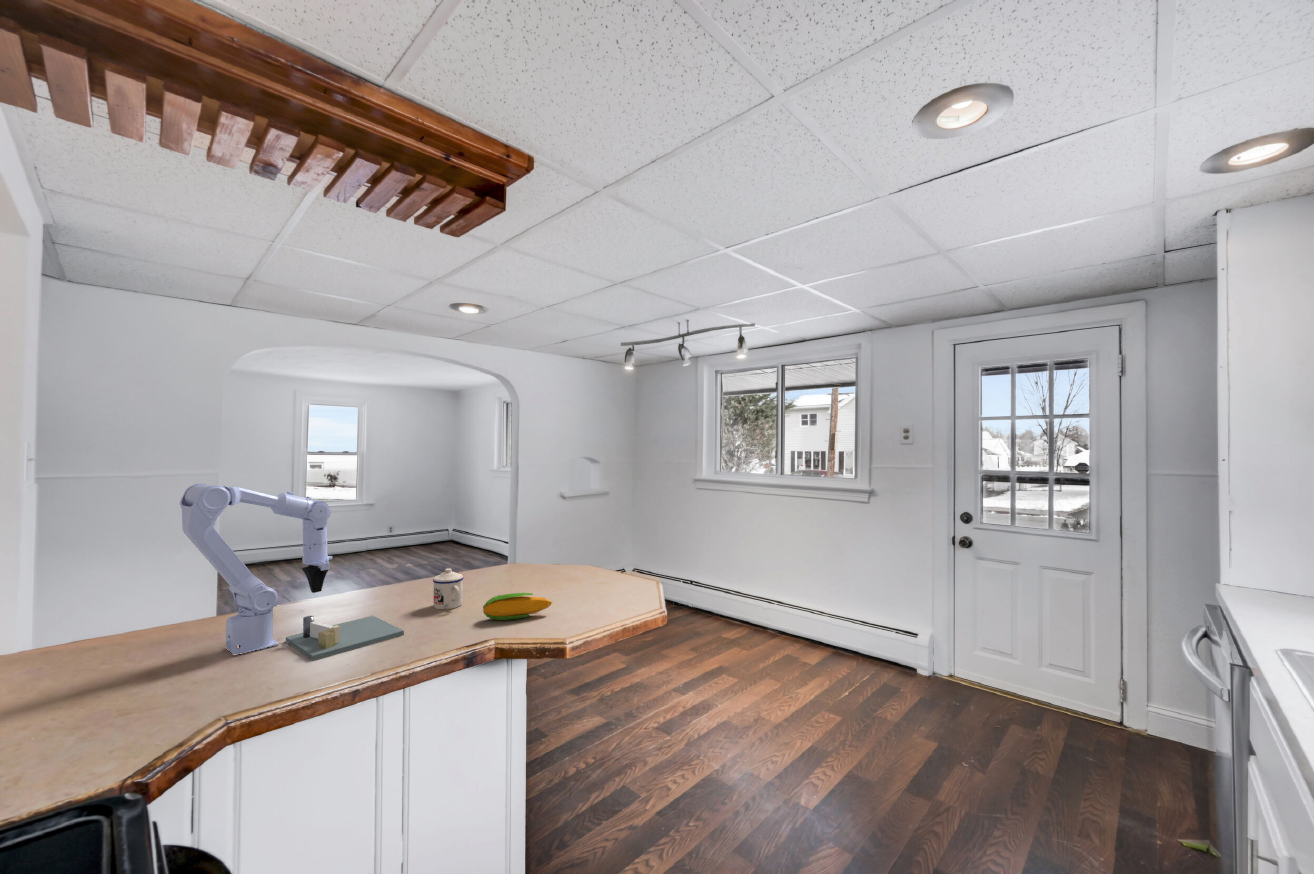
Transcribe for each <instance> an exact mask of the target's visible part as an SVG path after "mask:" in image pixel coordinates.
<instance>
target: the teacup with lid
mask: <svg viewBox="0 0 1314 874" xmlns="http://www.w3.org/2000/svg"><path fill="white" fill-rule="evenodd" d="M463 580H464V576H463V574H461V573H457V572H455V571H452V568H445V569H444V572H441V573H440V574H439V575H436V576H434V577H433V579H432V582H433V608H434V609H436V610H451V609H452V610H453V609H456V608H459V607H461V606H462V605H463V603H464V601H463V593H464V592H463V590H464V589H463V583H464V582H463Z"/></svg>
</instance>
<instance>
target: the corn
mask: <svg viewBox="0 0 1314 874" xmlns="http://www.w3.org/2000/svg"><path fill="white" fill-rule="evenodd" d="M533 595H534V593H533V592H532V593H531V592H513V593H506V594H498V595H496V596H493V597H491V598H490V599H489V600H487V601H486V602H485V603H484V605H483V607H482V612H483V614H484V616H486V617H487V618H488V619H491V620H495V621H507V620H508V621H509V620H519V619H525V618H529V617H531V614H535V613H539V612H541V611H543V610H547V609H548V608H549V607H551V606H552V604H553V603H552V601H551V600H549V599H547V598H545V597H541V596H539V597H538V596H533Z"/></svg>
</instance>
